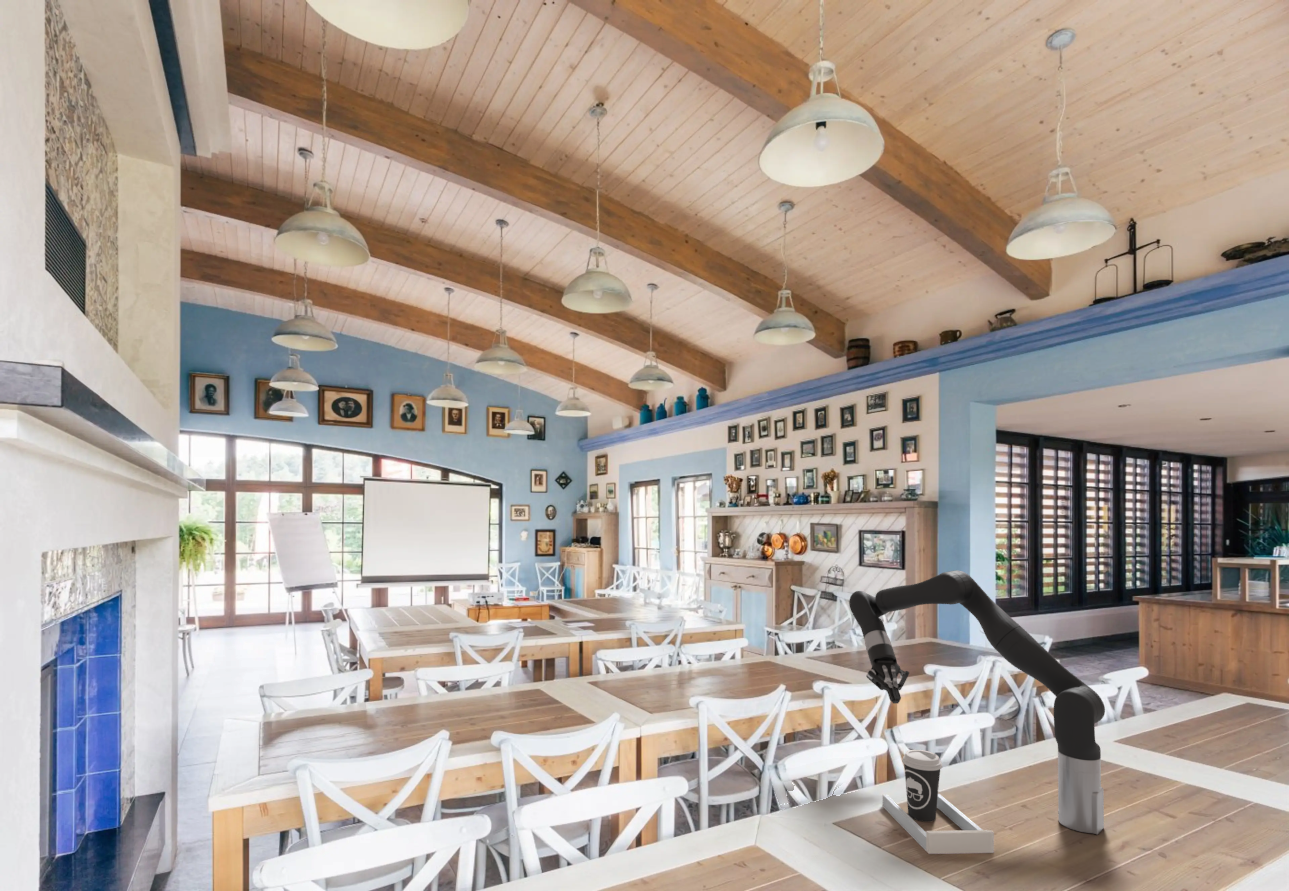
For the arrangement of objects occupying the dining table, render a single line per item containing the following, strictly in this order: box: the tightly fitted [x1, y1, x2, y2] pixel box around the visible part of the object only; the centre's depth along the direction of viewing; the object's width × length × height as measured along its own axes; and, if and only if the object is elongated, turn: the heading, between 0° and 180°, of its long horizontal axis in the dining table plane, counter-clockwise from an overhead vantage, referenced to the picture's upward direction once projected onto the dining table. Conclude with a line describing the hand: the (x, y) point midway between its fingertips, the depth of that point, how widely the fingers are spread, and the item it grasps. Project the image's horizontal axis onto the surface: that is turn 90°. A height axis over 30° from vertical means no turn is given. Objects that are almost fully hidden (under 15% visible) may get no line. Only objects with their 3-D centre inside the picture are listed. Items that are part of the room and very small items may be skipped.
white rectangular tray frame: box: [881, 793, 995, 855], centre depth 179 cm, size 25×15×4 cm, turn 5°
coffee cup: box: [901, 749, 943, 823], centre depth 186 cm, size 10×10×15 cm
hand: (896, 701), depth 210 cm, fingers closed
